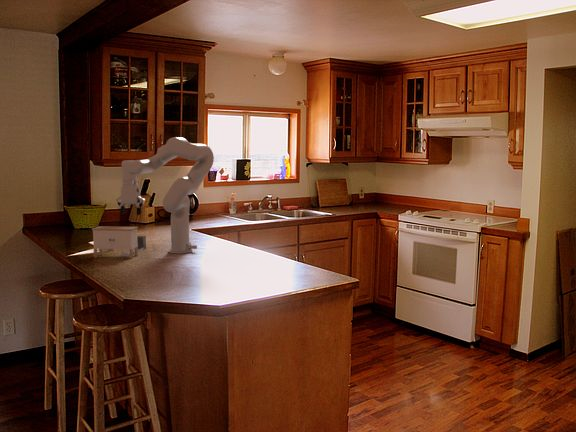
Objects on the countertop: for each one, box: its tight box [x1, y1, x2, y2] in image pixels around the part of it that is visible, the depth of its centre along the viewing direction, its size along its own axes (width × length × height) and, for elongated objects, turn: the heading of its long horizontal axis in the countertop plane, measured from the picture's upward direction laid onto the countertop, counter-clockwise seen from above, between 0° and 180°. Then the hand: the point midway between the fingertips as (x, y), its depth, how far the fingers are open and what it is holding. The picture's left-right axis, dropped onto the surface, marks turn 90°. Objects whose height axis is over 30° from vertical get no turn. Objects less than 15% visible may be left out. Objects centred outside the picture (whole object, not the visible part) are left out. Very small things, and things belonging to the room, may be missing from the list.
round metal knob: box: [120, 251, 130, 258], centre depth 294 cm, size 4×4×2 cm
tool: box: [127, 235, 147, 255], centre depth 308 cm, size 4×17×7 cm, turn 173°
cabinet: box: [91, 225, 139, 259], centre depth 293 cm, size 21×10×15 cm, turn 84°
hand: (131, 214), depth 312 cm, fingers open, 9 cm apart
